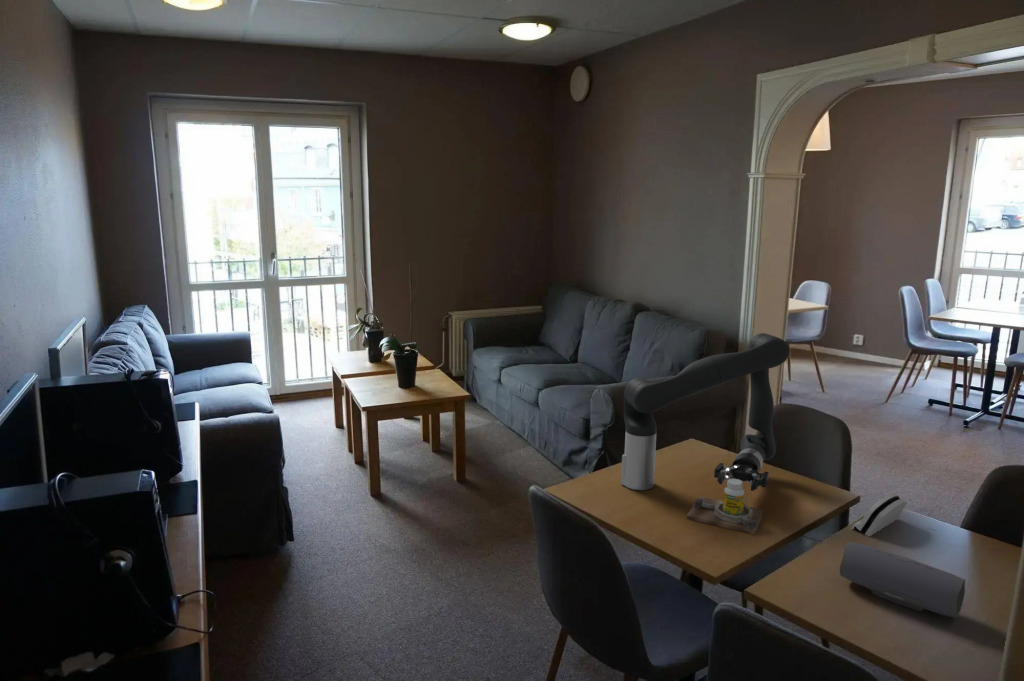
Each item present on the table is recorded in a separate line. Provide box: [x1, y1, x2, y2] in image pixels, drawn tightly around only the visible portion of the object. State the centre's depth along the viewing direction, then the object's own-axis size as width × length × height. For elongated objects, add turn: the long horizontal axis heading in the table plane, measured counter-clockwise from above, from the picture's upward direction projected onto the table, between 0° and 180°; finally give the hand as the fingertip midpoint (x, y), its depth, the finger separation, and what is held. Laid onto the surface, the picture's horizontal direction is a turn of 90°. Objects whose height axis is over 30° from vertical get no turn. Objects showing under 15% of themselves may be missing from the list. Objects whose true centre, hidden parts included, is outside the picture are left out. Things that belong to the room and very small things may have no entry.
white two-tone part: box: [851, 493, 908, 537], centre depth 184 cm, size 17×5×10 cm, turn 128°
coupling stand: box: [686, 495, 765, 535], centre depth 189 cm, size 18×14×3 cm
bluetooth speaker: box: [839, 541, 966, 619], centre depth 150 cm, size 23×9×10 cm, turn 46°
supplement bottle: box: [723, 479, 745, 516], centre depth 188 cm, size 5×5×10 cm
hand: (736, 484), depth 188 cm, fingers open, 8 cm apart
